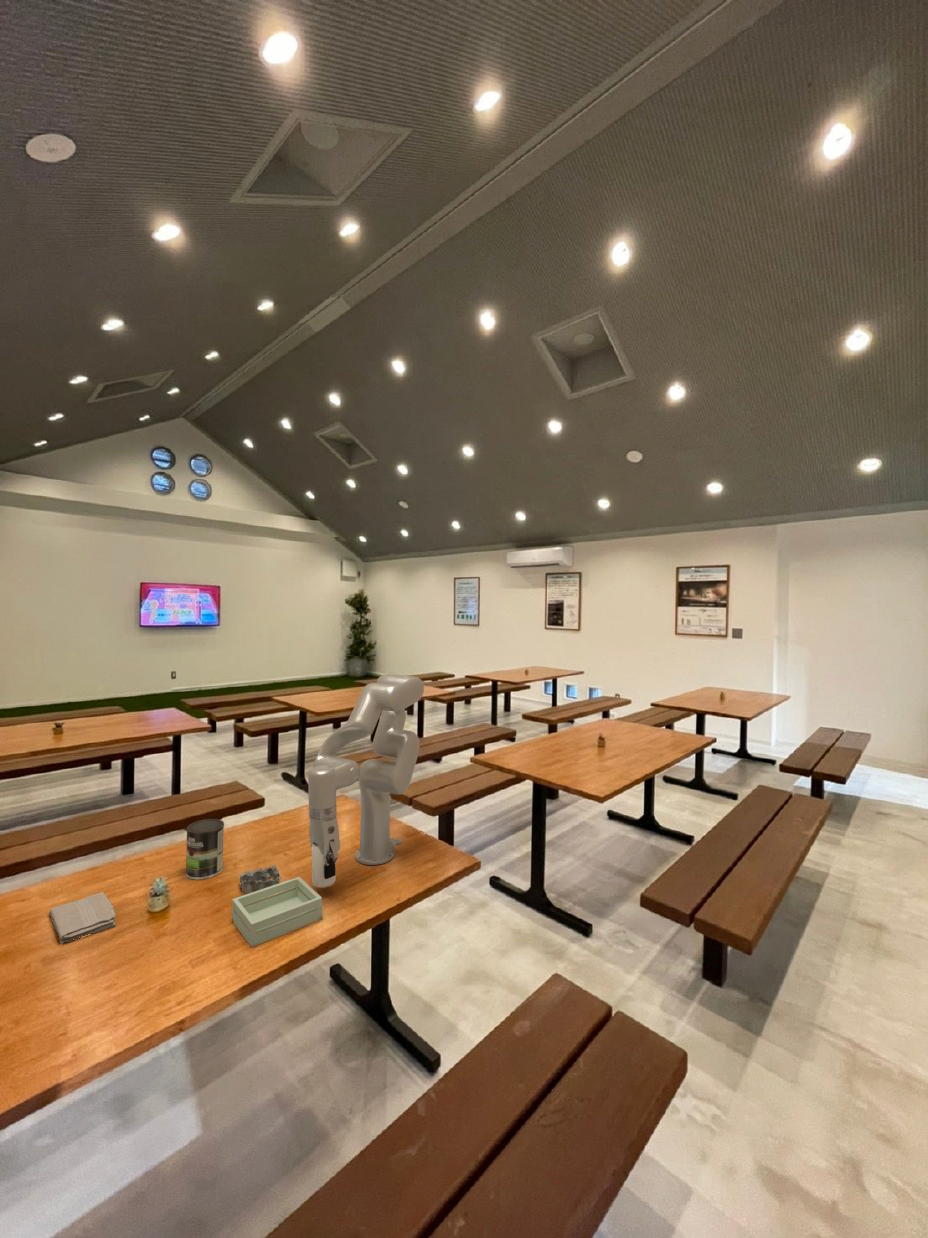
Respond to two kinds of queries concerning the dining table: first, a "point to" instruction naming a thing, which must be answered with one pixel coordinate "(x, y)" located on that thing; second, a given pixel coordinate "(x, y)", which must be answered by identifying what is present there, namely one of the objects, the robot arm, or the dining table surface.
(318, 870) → the can
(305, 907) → the tray
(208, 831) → the coffee can
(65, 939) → the washcloth
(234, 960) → the dining table surface
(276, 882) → the egg carton
